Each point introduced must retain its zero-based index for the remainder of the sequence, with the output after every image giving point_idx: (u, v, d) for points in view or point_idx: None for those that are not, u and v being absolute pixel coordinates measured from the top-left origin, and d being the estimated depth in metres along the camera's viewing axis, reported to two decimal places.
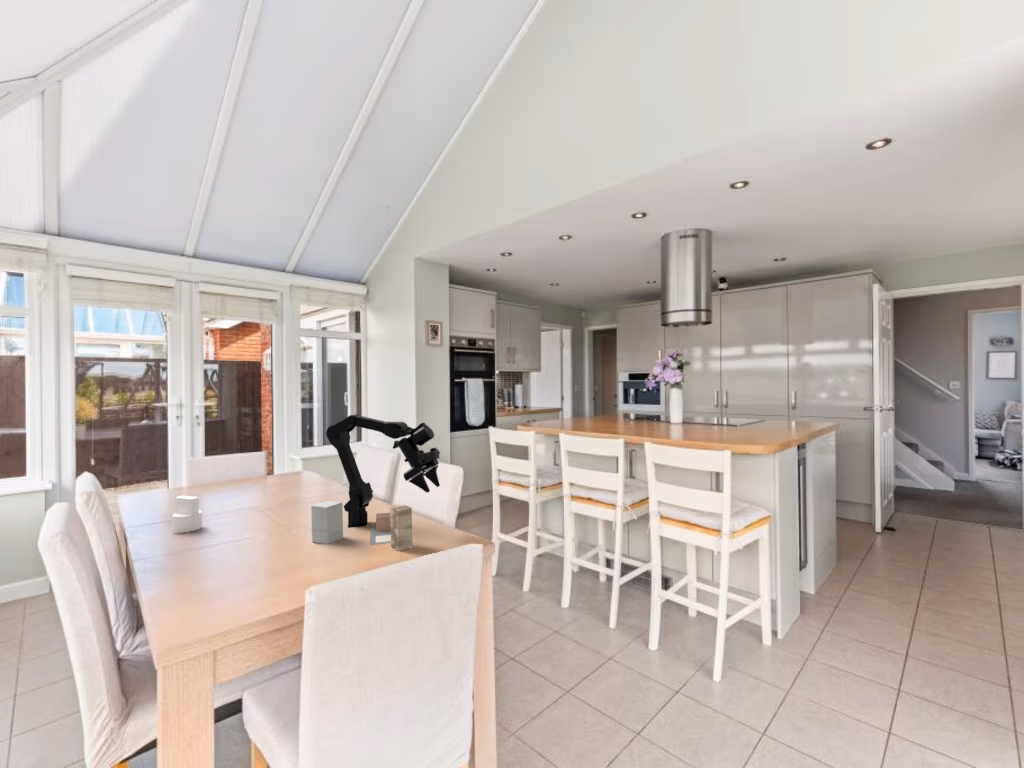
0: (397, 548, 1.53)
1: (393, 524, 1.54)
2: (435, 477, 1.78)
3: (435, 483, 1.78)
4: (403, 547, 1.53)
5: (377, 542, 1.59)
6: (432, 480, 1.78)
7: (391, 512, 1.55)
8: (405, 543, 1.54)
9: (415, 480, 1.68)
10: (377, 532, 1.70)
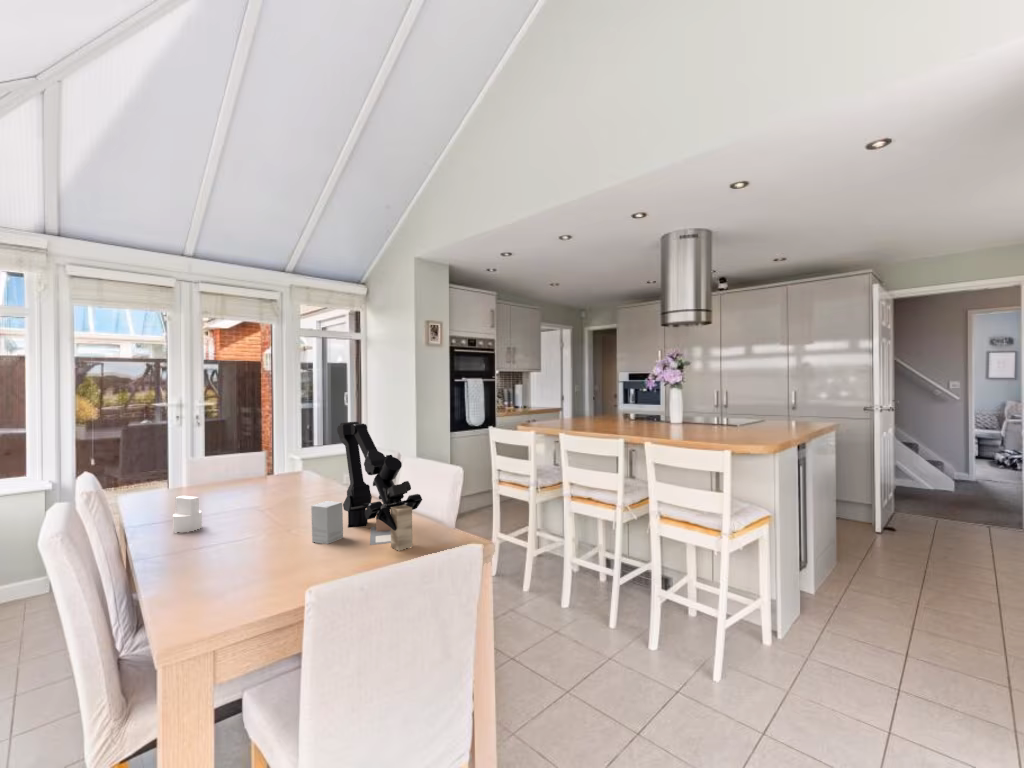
0: (397, 548, 1.53)
1: None
2: None
3: None
4: (403, 547, 1.53)
5: (377, 542, 1.59)
6: None
7: (392, 512, 1.55)
8: (405, 543, 1.54)
9: (383, 517, 1.55)
10: (377, 532, 1.70)
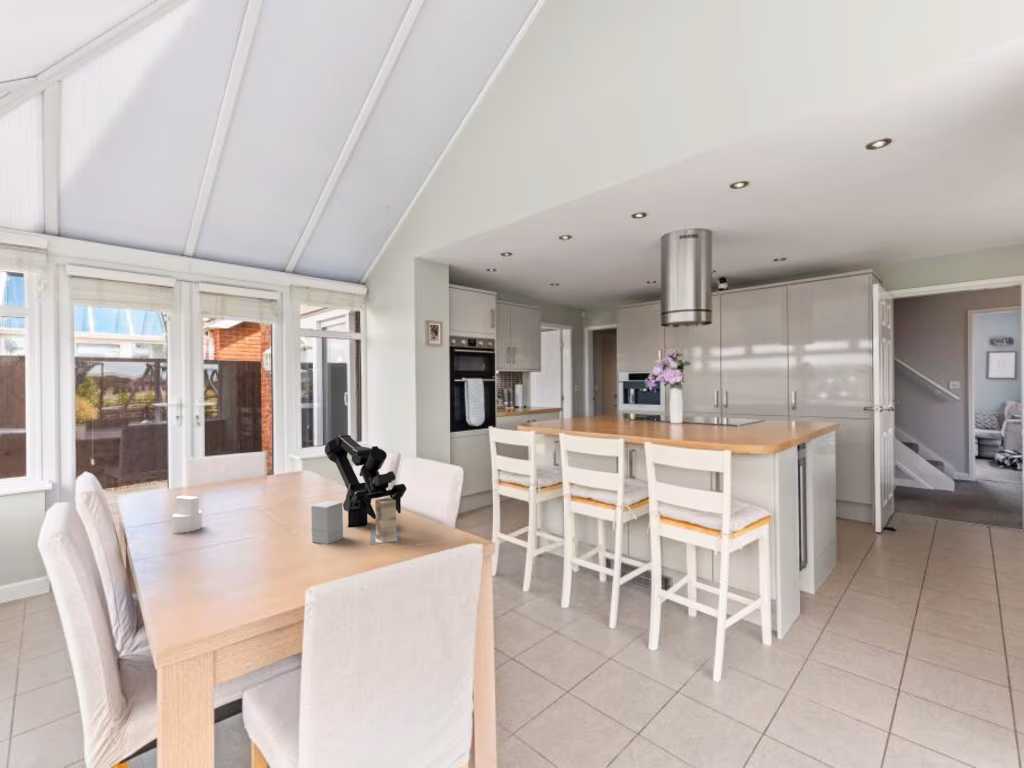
0: (381, 539, 1.60)
1: (378, 516, 1.62)
2: (397, 503, 1.67)
3: (397, 510, 1.67)
4: (387, 538, 1.61)
5: (377, 542, 1.59)
6: (396, 507, 1.68)
7: (376, 504, 1.63)
8: (390, 534, 1.62)
9: (363, 506, 1.62)
10: None
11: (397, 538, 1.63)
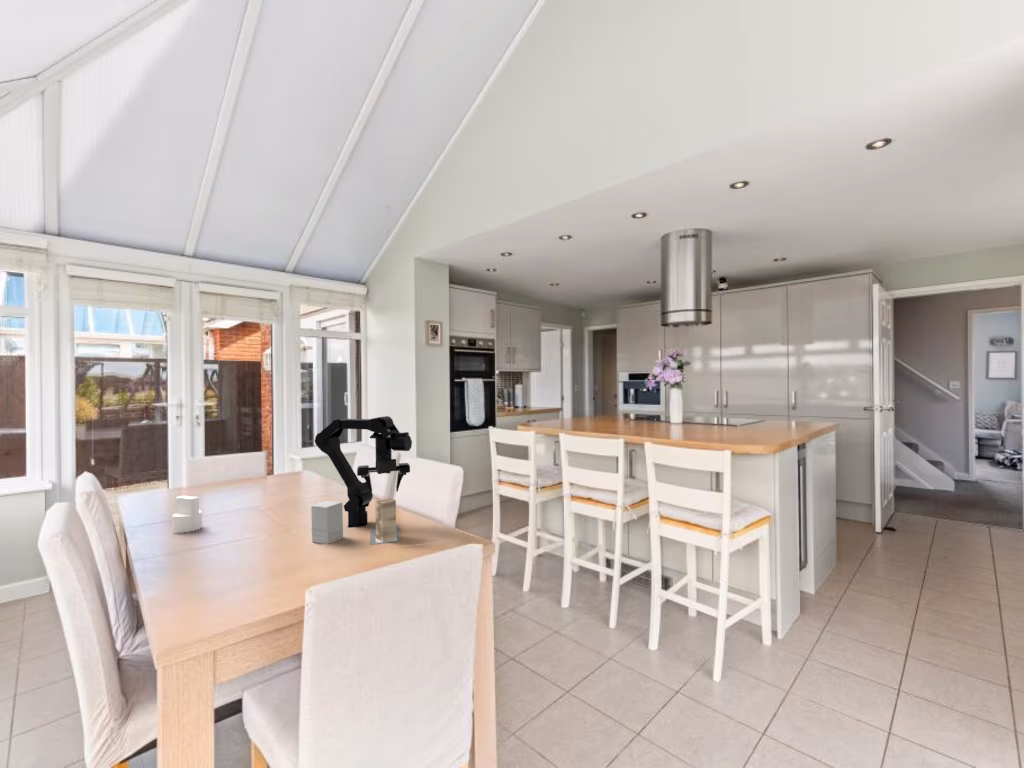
0: (381, 539, 1.60)
1: (378, 516, 1.62)
2: (397, 482, 1.78)
3: (396, 487, 1.79)
4: (387, 538, 1.61)
5: (377, 542, 1.59)
6: None
7: (376, 504, 1.63)
8: (390, 534, 1.62)
9: None
10: None
11: (397, 538, 1.63)
